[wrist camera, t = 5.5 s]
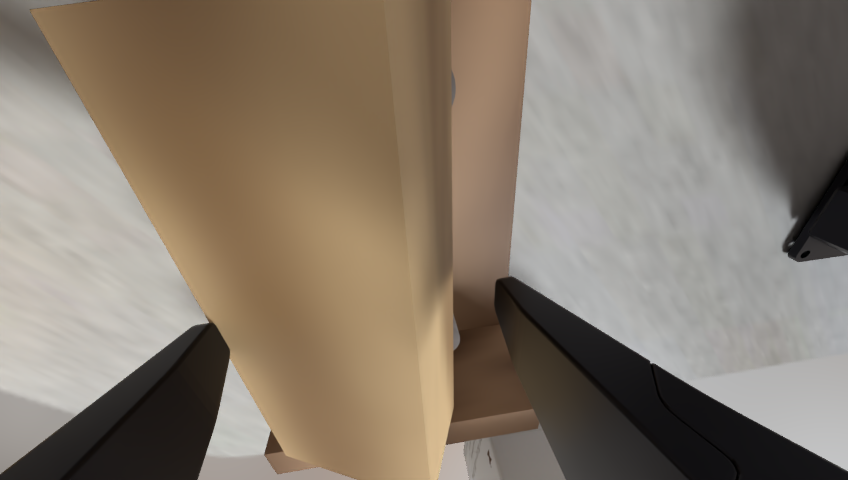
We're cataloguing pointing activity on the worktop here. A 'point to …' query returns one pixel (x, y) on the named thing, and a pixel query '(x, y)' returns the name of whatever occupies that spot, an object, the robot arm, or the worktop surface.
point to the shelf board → (296, 200)
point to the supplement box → (512, 457)
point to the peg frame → (479, 218)
